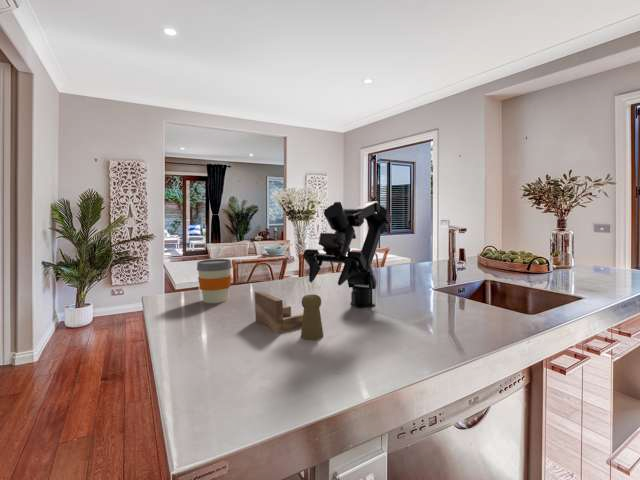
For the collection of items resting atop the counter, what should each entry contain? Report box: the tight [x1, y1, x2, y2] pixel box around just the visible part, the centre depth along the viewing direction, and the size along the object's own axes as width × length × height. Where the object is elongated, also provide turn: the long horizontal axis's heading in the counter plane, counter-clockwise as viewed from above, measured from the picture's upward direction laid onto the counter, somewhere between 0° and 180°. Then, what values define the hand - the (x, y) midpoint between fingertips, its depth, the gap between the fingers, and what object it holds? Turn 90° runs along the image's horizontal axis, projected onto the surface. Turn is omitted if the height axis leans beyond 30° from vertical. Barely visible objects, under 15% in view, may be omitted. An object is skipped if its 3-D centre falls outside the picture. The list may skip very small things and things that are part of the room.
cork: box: [300, 294, 324, 341], centre depth 90 cm, size 6×6×11 cm
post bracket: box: [254, 290, 303, 334], centre depth 101 cm, size 11×14×9 cm
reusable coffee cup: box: [196, 258, 232, 304], centre depth 129 cm, size 12×13×15 cm
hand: (324, 283), depth 96 cm, fingers open, 9 cm apart
